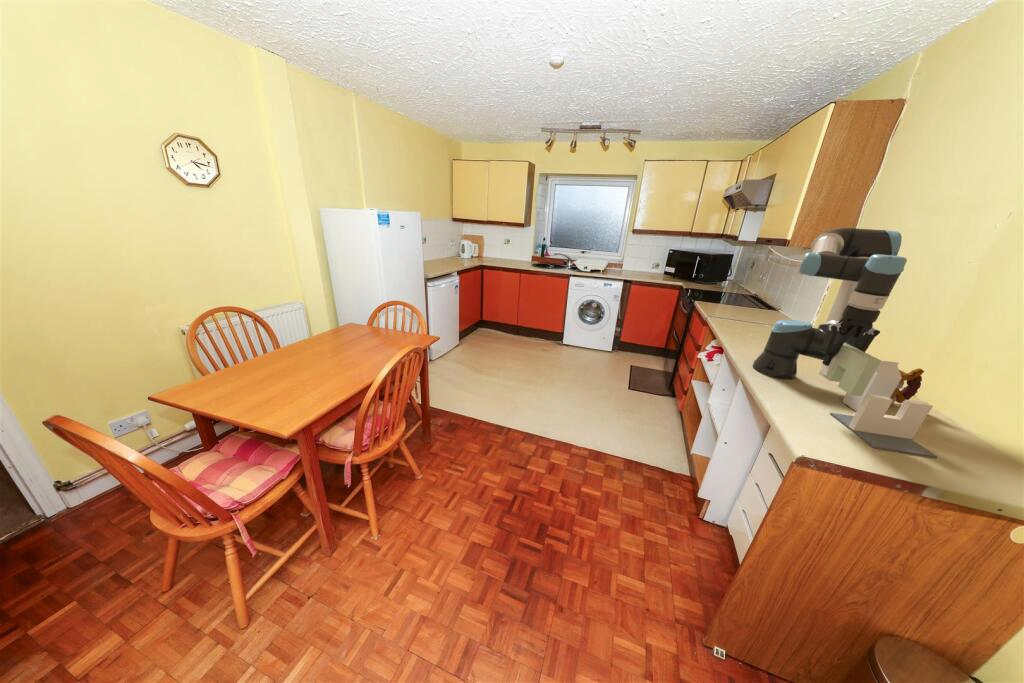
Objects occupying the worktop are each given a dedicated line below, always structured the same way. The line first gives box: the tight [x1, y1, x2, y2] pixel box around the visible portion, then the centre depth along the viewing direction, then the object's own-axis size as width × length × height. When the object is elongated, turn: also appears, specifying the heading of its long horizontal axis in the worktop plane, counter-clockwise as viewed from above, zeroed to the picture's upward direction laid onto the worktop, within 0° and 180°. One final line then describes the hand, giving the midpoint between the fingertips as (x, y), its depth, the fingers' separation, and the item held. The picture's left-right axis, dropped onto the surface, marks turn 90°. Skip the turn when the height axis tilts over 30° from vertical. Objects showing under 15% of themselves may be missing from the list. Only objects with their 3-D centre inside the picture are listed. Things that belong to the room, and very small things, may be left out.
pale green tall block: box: [818, 343, 881, 396], centre depth 102 cm, size 14×3×12 cm, turn 170°
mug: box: [889, 367, 925, 407], centre depth 122 cm, size 11×16×15 cm, turn 71°
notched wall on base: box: [829, 394, 939, 459], centre depth 100 cm, size 16×18×13 cm
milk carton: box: [842, 359, 902, 413], centre depth 114 cm, size 7×7×19 cm
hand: (830, 374), depth 108 cm, fingers closed on pale green tall block, 3 cm apart
